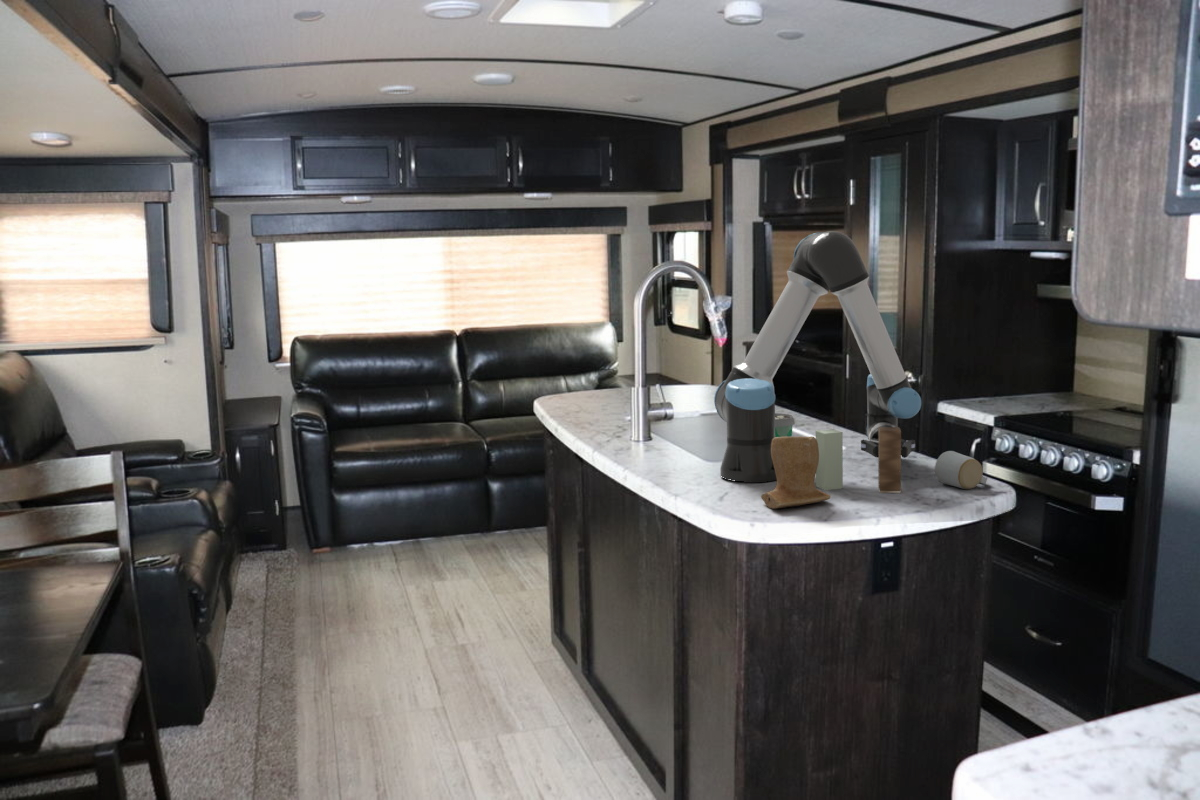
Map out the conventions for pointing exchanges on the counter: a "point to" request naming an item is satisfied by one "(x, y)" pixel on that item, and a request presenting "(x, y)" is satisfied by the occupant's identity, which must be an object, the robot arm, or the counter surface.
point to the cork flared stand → (794, 472)
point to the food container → (783, 425)
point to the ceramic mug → (959, 470)
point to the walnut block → (889, 459)
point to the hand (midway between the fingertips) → (893, 458)
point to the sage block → (830, 459)
